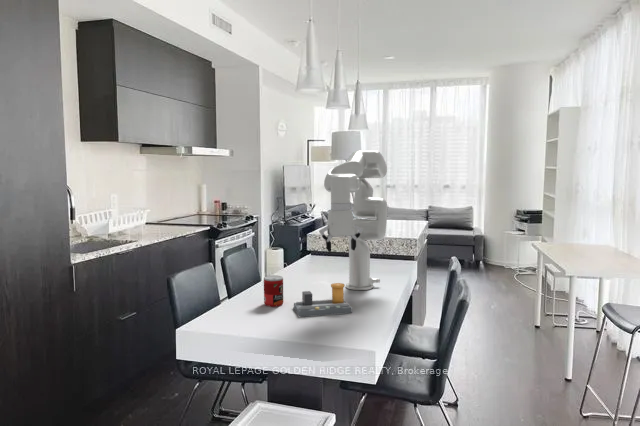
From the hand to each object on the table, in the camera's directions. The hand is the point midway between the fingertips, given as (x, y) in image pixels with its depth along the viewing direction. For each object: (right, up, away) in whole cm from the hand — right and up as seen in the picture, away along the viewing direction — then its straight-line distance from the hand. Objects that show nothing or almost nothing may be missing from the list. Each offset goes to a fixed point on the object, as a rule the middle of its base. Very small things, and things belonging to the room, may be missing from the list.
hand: (341, 250), depth 182 cm
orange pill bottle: (-1, -21, -2) cm, 21 cm away
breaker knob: (-13, -21, -5) cm, 25 cm away
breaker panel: (-8, -23, -4) cm, 24 cm away
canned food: (-27, -22, +5) cm, 35 cm away
